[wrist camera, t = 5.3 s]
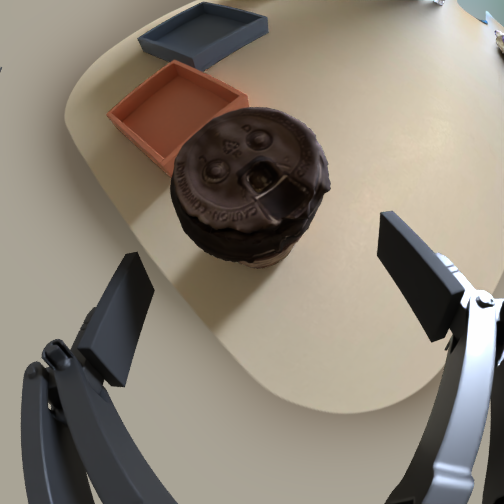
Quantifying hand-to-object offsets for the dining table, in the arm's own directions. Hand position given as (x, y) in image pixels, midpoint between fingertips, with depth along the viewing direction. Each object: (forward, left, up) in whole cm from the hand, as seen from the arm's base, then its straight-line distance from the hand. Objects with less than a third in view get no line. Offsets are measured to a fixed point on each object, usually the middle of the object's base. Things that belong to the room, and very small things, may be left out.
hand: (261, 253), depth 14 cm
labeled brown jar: (-3, +2, -10) cm, 11 cm away
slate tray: (-32, +20, -10) cm, 39 cm away
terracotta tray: (-20, +6, -10) cm, 23 cm away
